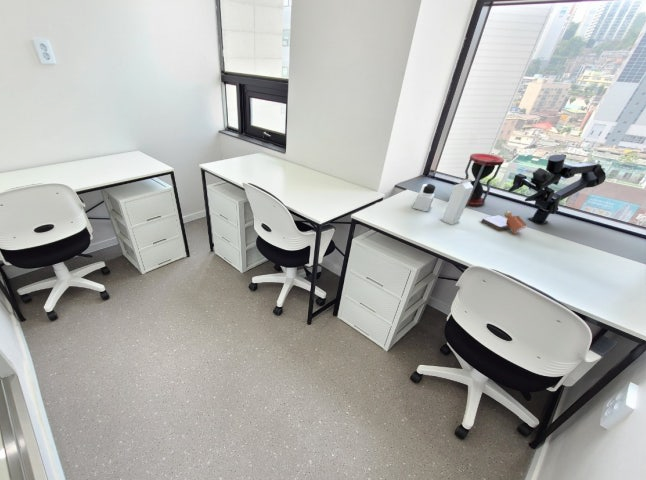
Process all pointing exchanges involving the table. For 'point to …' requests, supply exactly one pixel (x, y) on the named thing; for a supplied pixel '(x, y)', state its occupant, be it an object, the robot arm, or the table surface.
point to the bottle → (514, 222)
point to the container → (425, 197)
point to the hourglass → (481, 175)
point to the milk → (457, 202)
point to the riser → (496, 222)
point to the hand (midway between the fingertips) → (516, 195)
